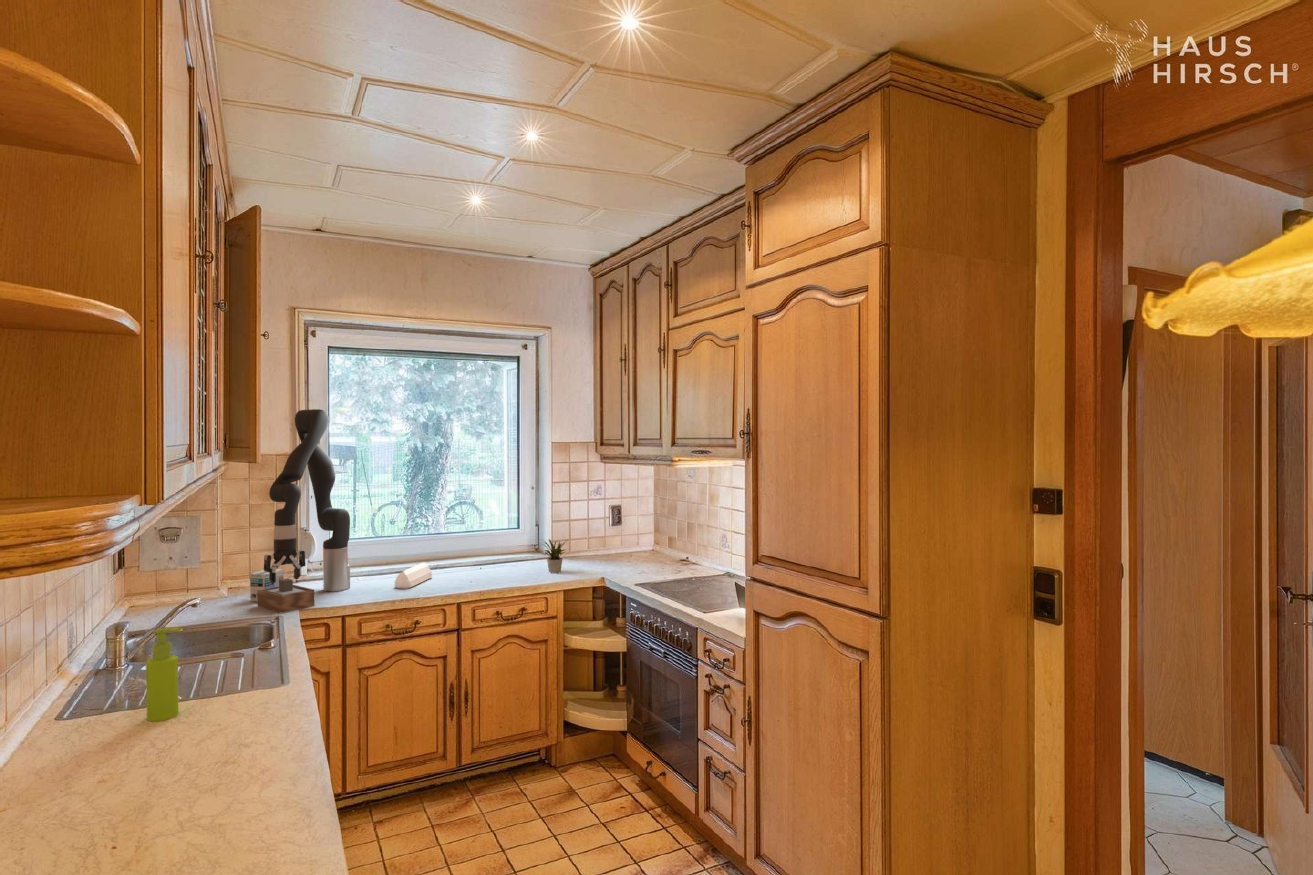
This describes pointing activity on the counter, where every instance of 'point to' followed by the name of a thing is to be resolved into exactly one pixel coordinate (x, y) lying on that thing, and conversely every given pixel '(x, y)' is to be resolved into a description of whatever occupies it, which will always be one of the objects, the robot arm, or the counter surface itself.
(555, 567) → the house plant
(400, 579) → the pale wooden prism
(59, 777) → the counter surface
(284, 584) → the cover plate
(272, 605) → the walnut box
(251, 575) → the light bulb box
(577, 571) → the counter surface
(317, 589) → the counter surface
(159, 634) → the soap dispenser
